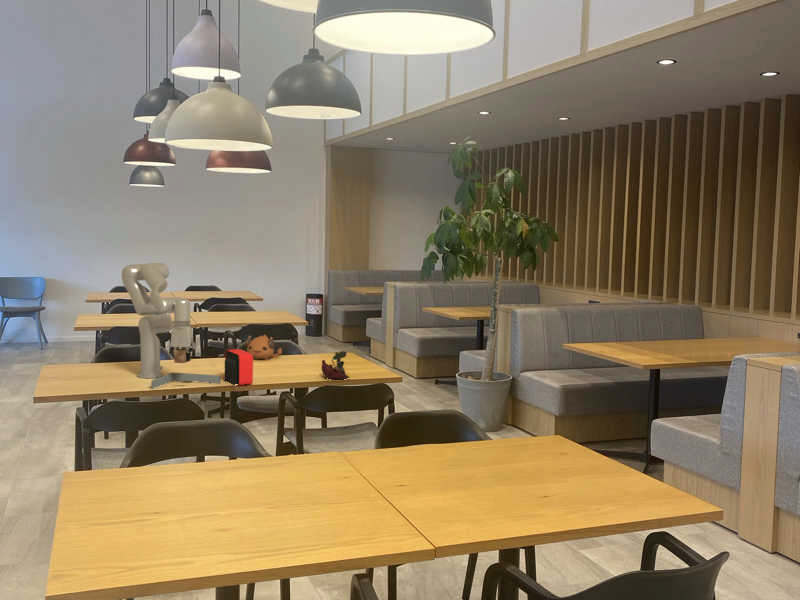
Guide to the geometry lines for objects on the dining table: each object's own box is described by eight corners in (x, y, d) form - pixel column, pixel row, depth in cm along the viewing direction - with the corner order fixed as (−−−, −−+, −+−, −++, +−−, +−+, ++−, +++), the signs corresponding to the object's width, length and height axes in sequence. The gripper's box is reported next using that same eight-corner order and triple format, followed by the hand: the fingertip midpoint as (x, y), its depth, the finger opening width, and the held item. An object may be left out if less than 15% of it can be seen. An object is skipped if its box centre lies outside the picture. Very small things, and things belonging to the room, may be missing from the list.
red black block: (235, 387, 375) (235, 355, 374) (220, 379, 392) (221, 349, 391) (253, 385, 381) (253, 354, 379) (238, 378, 397) (239, 348, 396)
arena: (172, 380, 388) (172, 372, 387) (220, 383, 383) (220, 375, 383) (151, 388, 367) (151, 380, 366) (202, 392, 362) (202, 383, 362)
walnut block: (174, 362, 374) (174, 350, 374) (181, 360, 382) (181, 348, 382) (183, 363, 374) (183, 351, 373) (190, 360, 381) (190, 348, 381)
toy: (240, 359, 447) (242, 333, 448) (251, 358, 464) (253, 334, 465) (272, 361, 444) (274, 335, 445) (282, 360, 461) (283, 336, 462)
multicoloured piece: (350, 381, 396) (350, 353, 395) (321, 381, 395) (321, 353, 393) (349, 376, 410) (349, 349, 409) (321, 376, 409) (321, 349, 407)
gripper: (162, 324, 374) (162, 361, 376) (195, 325, 371) (195, 362, 373) (169, 322, 381) (169, 358, 383) (201, 323, 378) (202, 360, 380)
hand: (182, 360), depth 378 cm, fingers closed on walnut block, 5 cm apart
